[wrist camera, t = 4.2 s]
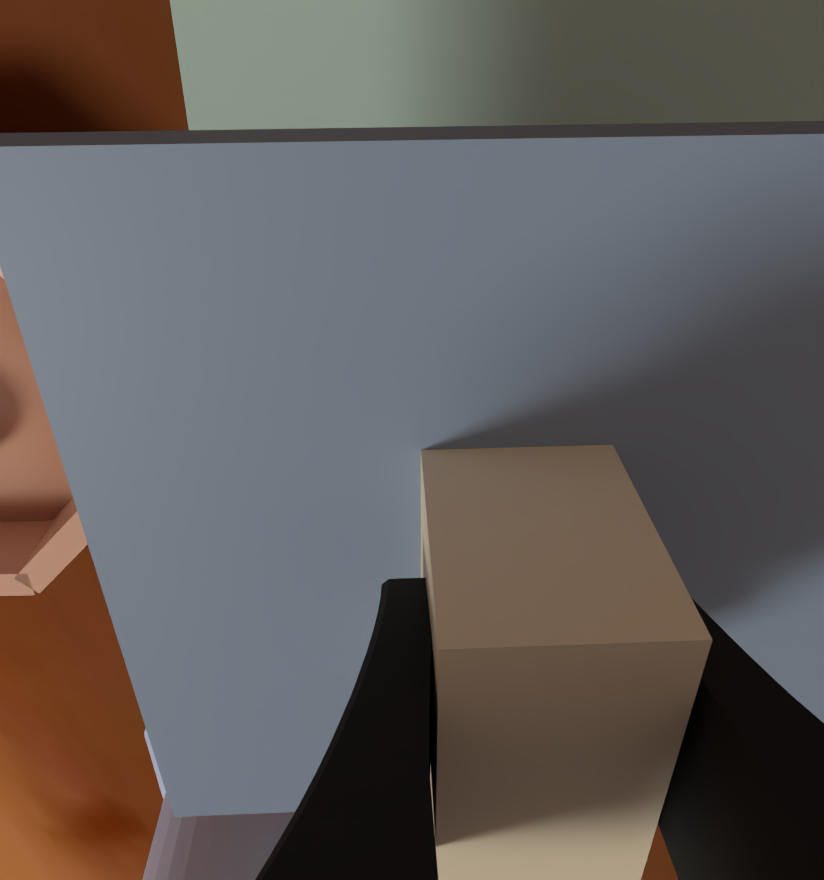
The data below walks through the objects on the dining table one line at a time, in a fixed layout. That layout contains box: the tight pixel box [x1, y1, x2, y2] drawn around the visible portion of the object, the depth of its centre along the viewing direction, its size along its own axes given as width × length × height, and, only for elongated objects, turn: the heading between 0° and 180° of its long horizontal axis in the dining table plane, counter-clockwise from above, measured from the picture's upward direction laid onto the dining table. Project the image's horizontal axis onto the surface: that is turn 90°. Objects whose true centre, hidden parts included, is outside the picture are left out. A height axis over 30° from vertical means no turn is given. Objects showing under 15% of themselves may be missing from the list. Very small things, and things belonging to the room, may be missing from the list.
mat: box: [170, 0, 824, 130], centre depth 20 cm, size 18×17×1 cm
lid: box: [0, 121, 824, 880], centre depth 11 cm, size 14×14×5 cm
